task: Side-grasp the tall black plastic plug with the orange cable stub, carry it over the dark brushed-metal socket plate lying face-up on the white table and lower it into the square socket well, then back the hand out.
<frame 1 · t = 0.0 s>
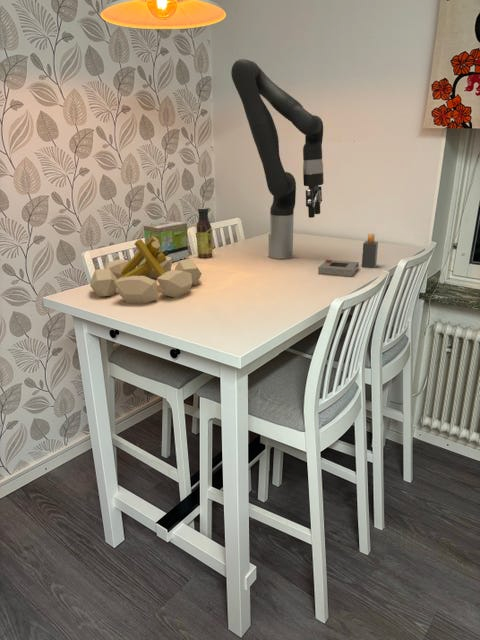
hand: (314, 215, 190), 17 cm above the table, tool pointing down, fingers open, 8 cm apart
sauce bottle: (205, 257, 204), on the table
socket: (338, 271, 178), on the table
tea box: (167, 260, 200), on the table
campfire: (147, 289, 164), on the table
plug: (368, 266, 184), on the table
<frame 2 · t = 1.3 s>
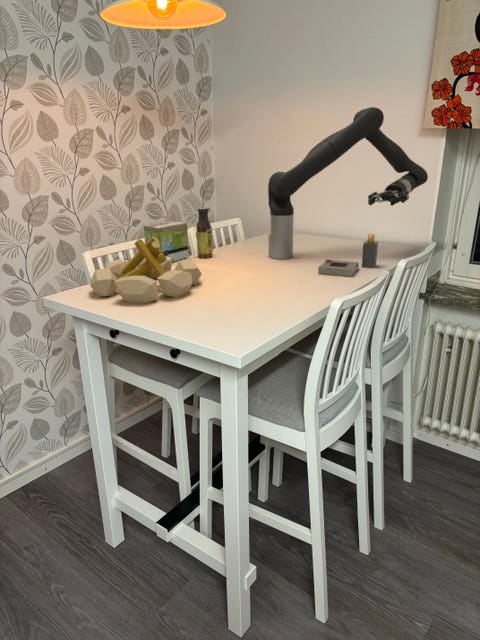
hand: (380, 202, 181), 22 cm above the table, tool horizontal, fingers open, 8 cm apart
nothing on the table moved.
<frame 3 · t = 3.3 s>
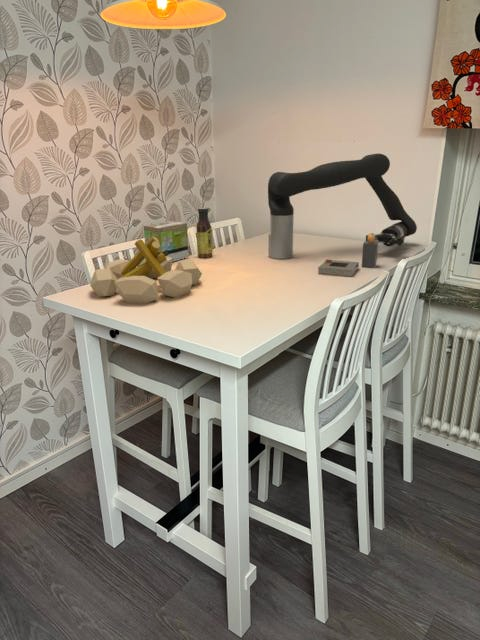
hand: (379, 242, 189), 7 cm above the table, tool horizontal, fingers open, 8 cm apart
nothing on the table moved.
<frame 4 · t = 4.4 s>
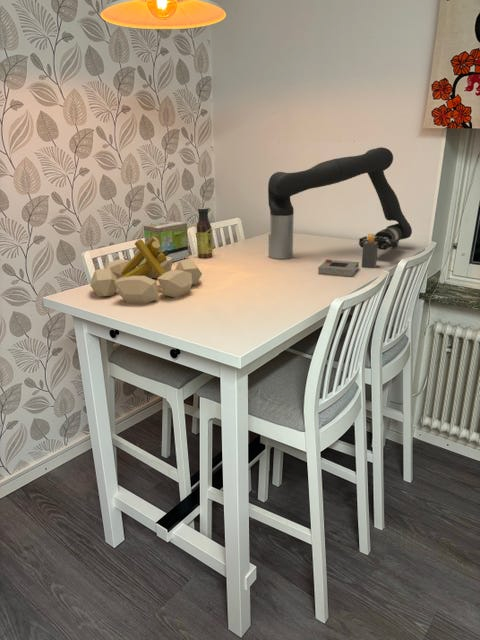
hand: (372, 246, 183), 7 cm above the table, tool horizontal, fingers open, 8 cm apart
nothing on the table moved.
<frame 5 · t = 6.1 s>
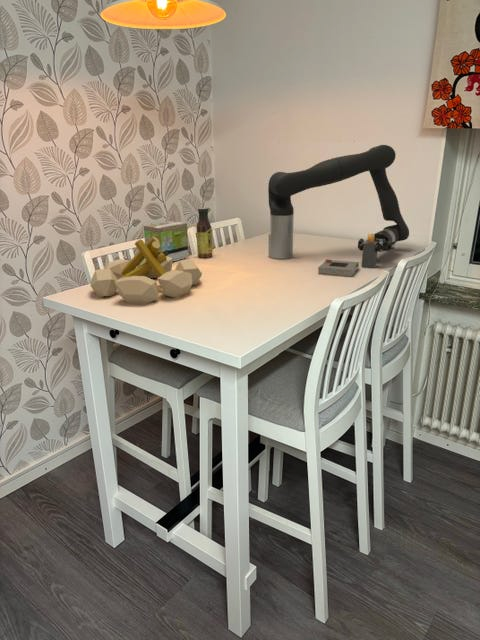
hand: (368, 248, 179), 7 cm above the table, tool horizontal, fingers closed on plug, 5 cm apart
plug: (369, 266, 184), on the table, touching gripper
everything else where it was.
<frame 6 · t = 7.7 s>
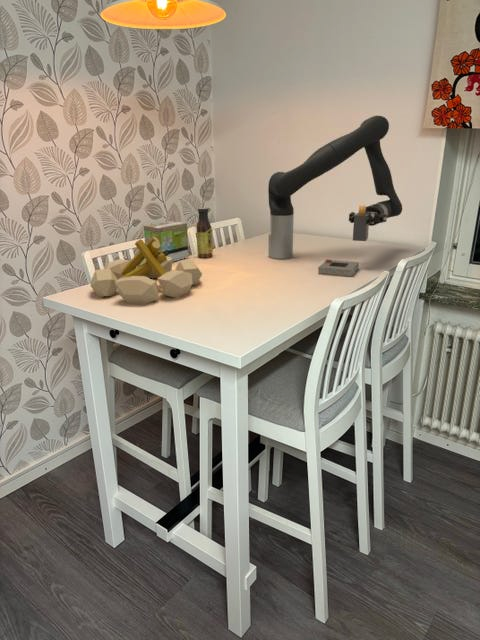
hand: (359, 220, 174), 18 cm above the table, tool horizontal, fingers closed on plug, 5 cm apart
plug: (360, 239, 178), point 11 cm above the table, touching gripper
everything else where it was.
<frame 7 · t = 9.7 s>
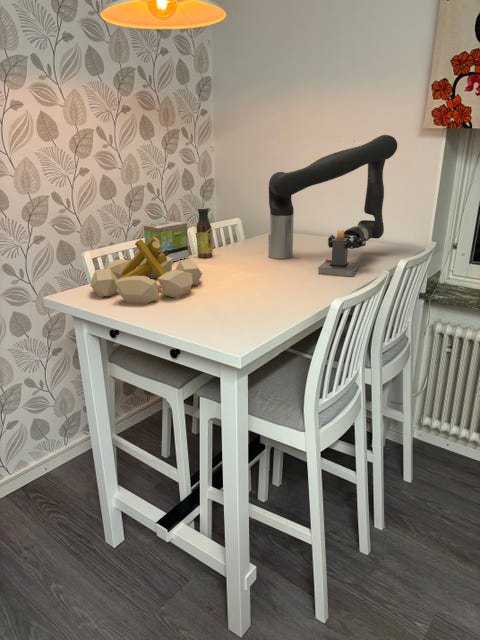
hand: (337, 245, 172), 10 cm above the table, tool horizontal, fingers closed on plug, 5 cm apart
plug: (339, 263, 177), point 3 cm above the table, touching gripper
everything else where it was.
when the fingers open (9 cm above the table, at t = 10.4 s): plug drops 1 cm, resting on socket.
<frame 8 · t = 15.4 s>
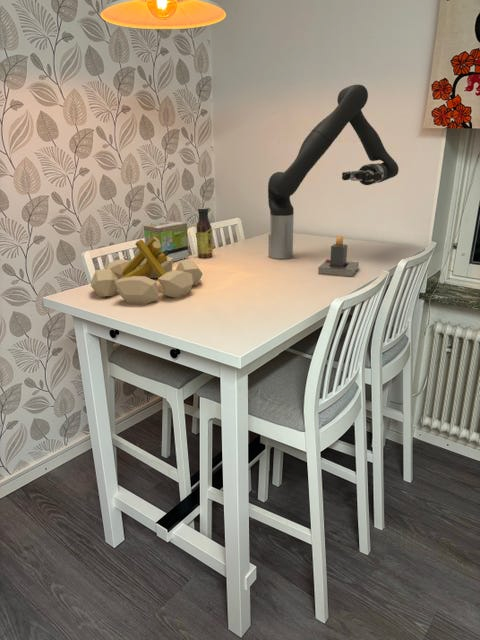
hand: (355, 177, 175), 32 cm above the table, tool horizontal, fingers open, 8 cm apart
plug: (338, 269, 178), resting on socket
everything else where it was.
at the end: plug 0.3 cm off-centre on the socket, point 0.5 cm above the socket's base; plug tilted 0°; the gripper is holding nothing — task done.
